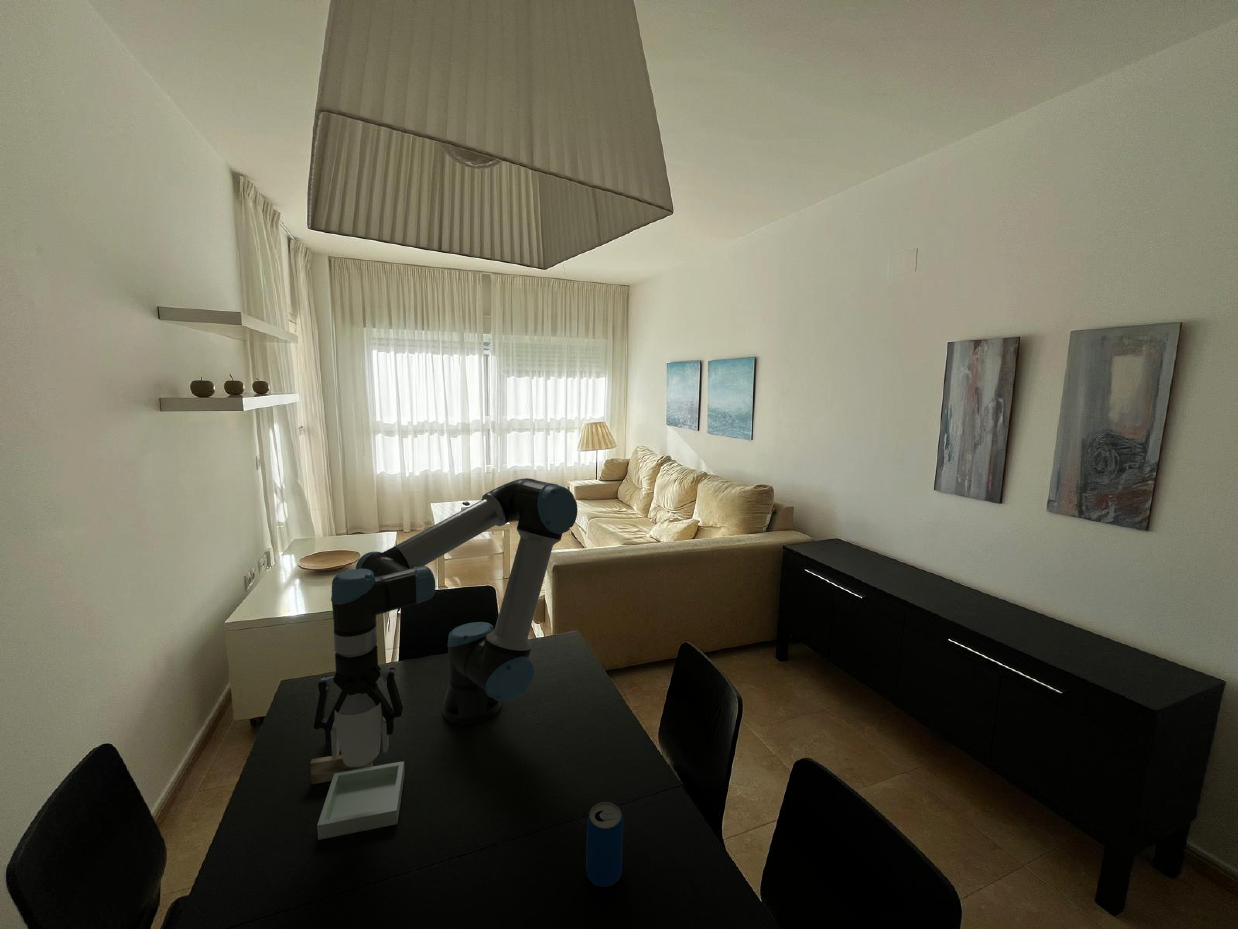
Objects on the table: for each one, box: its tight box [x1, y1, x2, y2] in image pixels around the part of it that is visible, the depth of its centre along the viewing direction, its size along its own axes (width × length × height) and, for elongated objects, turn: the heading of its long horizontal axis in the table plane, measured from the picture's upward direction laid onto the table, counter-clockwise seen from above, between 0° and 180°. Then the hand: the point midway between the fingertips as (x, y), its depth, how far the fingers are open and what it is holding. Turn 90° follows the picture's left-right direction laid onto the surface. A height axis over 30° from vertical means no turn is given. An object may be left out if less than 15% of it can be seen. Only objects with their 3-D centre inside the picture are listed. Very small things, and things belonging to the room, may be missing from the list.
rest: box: [309, 723, 374, 785], centre depth 121 cm, size 12×14×5 cm
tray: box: [316, 761, 406, 841], centre depth 107 cm, size 14×14×3 cm
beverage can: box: [585, 801, 624, 887], centre depth 93 cm, size 6×6×12 cm
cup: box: [334, 693, 383, 767], centre depth 105 cm, size 9×9×12 cm
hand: (361, 752), depth 106 cm, fingers closed on cup, 9 cm apart
